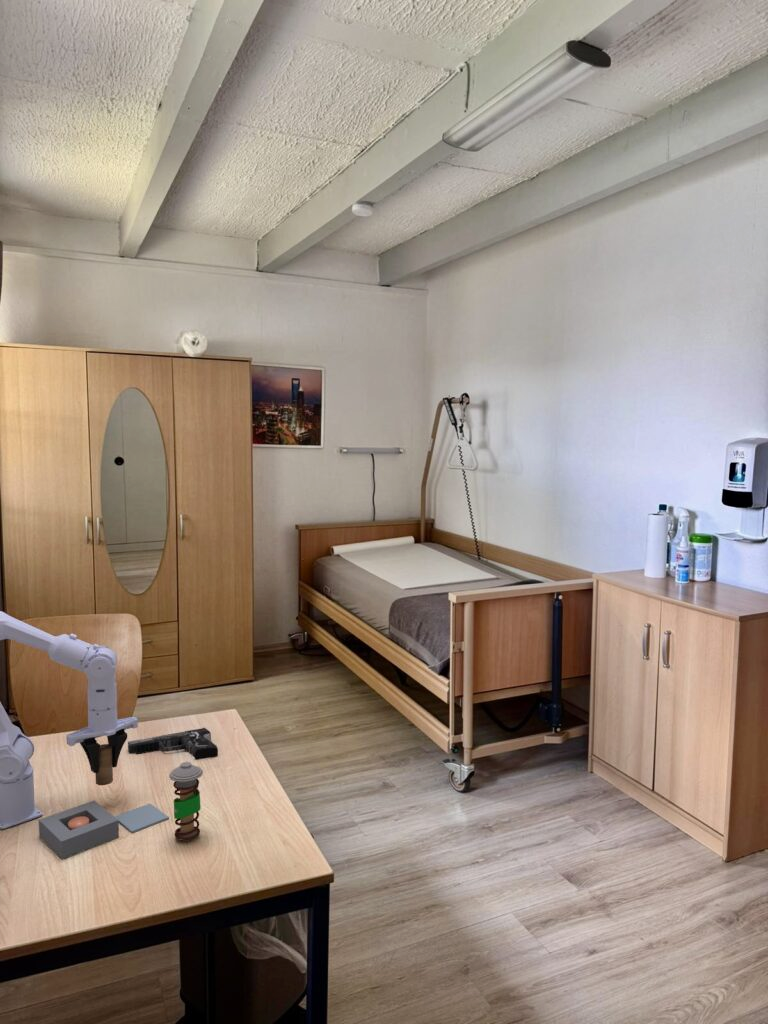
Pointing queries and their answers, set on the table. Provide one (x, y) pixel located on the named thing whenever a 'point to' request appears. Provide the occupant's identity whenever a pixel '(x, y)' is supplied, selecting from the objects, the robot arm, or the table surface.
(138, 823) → the mat
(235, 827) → the table surface
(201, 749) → the handgun
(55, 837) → the frame
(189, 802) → the shock absorber
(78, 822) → the orange domed disc
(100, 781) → the dowel
